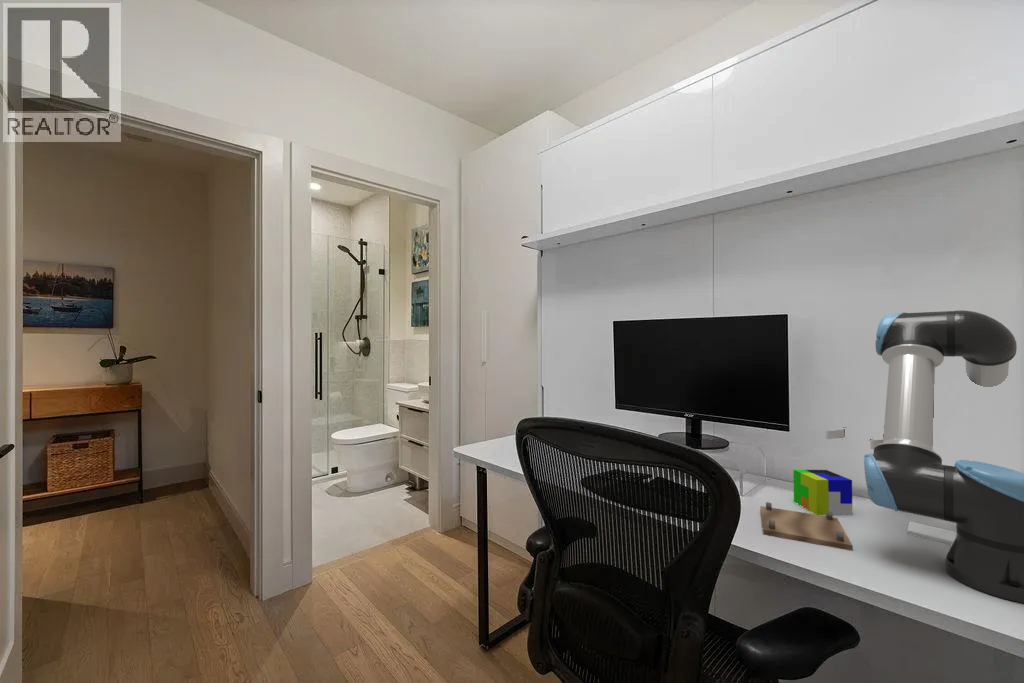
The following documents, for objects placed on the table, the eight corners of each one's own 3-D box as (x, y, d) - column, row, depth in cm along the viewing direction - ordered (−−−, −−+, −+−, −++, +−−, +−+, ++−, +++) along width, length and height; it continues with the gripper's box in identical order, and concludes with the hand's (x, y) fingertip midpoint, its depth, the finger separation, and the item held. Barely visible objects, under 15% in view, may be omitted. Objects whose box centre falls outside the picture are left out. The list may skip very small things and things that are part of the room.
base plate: (837, 522, 114) (837, 511, 114) (852, 550, 98) (852, 537, 98) (760, 510, 123) (760, 499, 123) (763, 534, 107) (763, 522, 107)
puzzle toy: (852, 515, 119) (852, 480, 119) (816, 515, 119) (816, 479, 119) (826, 502, 129) (826, 469, 129) (793, 502, 129) (793, 469, 129)
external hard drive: (910, 527, 113) (979, 542, 103) (906, 536, 107) (979, 553, 98) (909, 520, 113) (979, 536, 103) (906, 529, 107) (979, 546, 98)
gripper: (952, 457, 119) (893, 463, 115) (861, 438, 144) (810, 442, 139) (951, 431, 119) (893, 435, 115) (861, 416, 144) (810, 419, 139)
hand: (848, 439), depth 127 cm, fingers open, 13 cm apart
